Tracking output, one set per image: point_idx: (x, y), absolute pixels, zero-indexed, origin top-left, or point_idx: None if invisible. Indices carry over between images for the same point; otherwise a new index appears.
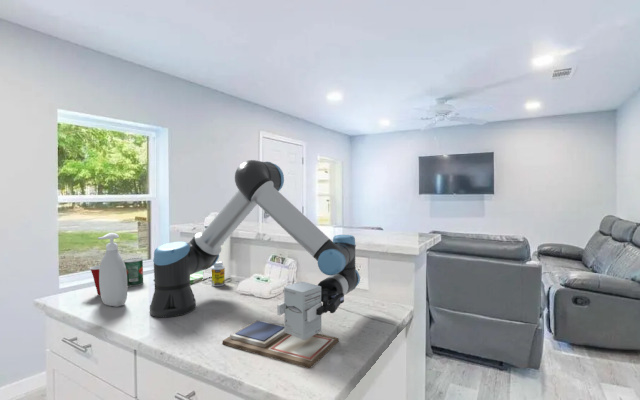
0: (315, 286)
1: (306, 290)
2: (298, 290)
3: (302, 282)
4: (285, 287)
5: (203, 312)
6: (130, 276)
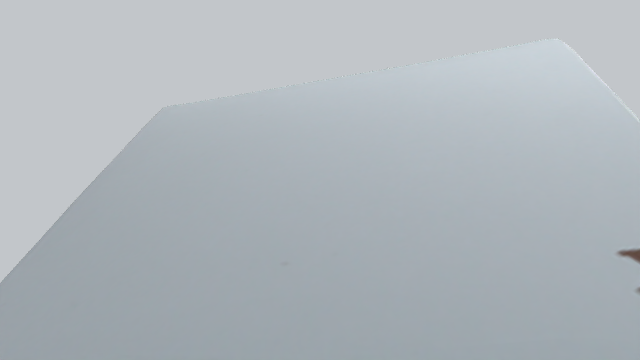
0: (33, 305)
1: (143, 138)
2: (256, 94)
3: (620, 271)
4: (527, 43)
5: None
6: None
